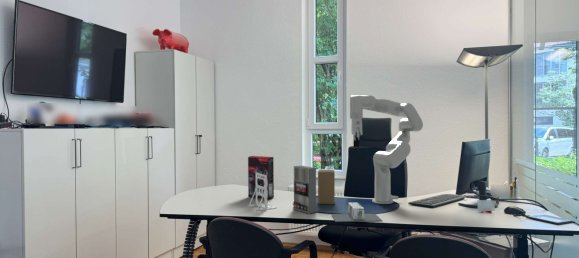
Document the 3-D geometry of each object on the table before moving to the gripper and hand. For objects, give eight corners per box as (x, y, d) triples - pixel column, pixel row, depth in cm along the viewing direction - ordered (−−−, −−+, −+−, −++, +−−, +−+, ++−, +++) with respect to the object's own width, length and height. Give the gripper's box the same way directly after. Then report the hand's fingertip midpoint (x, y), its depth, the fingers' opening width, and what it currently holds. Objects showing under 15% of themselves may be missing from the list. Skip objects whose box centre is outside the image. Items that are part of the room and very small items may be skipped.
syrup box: (357, 212, 219) (364, 219, 205) (347, 212, 219) (353, 219, 204) (357, 202, 219) (364, 208, 205) (347, 202, 219) (353, 208, 204)
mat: (375, 214, 216) (375, 213, 216) (382, 221, 202) (382, 220, 202) (331, 215, 215) (331, 214, 215) (335, 221, 202) (335, 221, 202)
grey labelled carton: (292, 209, 229) (292, 166, 228) (300, 207, 232) (300, 165, 231) (308, 214, 218) (307, 168, 217) (316, 212, 221) (316, 167, 220)
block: (334, 201, 250) (334, 169, 249) (334, 204, 240) (334, 171, 239) (318, 200, 251) (318, 169, 250) (317, 204, 241) (317, 171, 240)
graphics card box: (247, 197, 264) (247, 156, 263) (253, 195, 270) (253, 155, 269) (268, 200, 255) (268, 157, 254) (274, 198, 261) (274, 156, 260)
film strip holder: (278, 208, 232) (278, 174, 231) (257, 211, 224) (257, 176, 224) (267, 203, 244) (267, 171, 243) (246, 206, 237) (246, 173, 236)
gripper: (365, 116, 229) (365, 148, 230) (359, 116, 244) (359, 146, 244) (352, 116, 229) (352, 148, 229) (347, 116, 244) (347, 146, 244)
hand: (356, 146), depth 237 cm, fingers closed
